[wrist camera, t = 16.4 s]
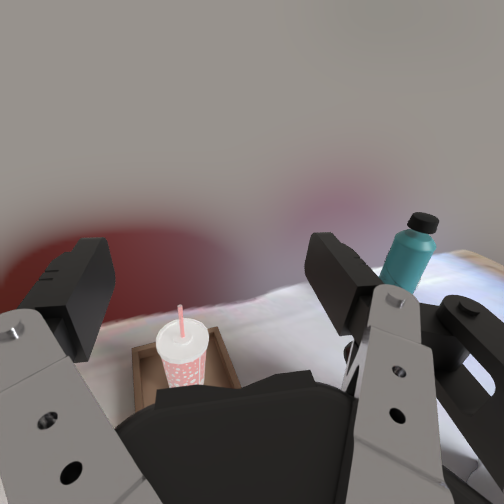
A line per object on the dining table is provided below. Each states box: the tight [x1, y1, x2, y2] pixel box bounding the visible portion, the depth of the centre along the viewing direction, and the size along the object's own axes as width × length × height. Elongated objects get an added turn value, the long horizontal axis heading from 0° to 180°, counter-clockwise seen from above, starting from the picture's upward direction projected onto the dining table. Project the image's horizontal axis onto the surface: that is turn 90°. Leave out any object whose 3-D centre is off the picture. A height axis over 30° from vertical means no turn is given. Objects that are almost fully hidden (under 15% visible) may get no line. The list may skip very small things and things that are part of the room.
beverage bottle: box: [379, 212, 439, 294], centre depth 48 cm, size 6×7×20 cm
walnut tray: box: [132, 326, 241, 413], centre depth 37 cm, size 13×13×3 cm
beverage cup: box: [156, 305, 209, 388], centre depth 33 cm, size 6×6×14 cm
